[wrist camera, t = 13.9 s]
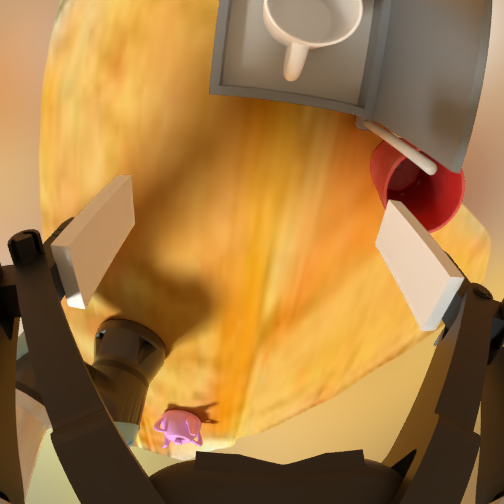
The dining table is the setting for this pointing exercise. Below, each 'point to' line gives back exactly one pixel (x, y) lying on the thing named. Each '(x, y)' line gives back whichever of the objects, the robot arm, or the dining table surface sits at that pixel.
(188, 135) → the dining table surface
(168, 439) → the pink toy pig
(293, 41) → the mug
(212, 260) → the dining table surface
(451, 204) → the flower pot
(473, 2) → the case
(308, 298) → the dining table surface
